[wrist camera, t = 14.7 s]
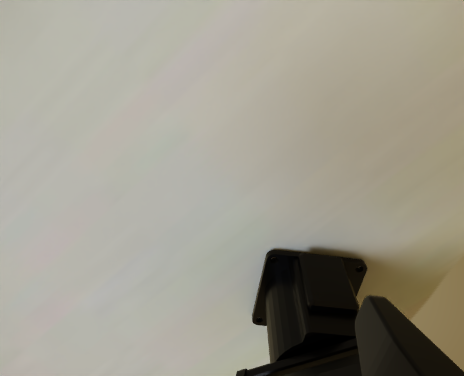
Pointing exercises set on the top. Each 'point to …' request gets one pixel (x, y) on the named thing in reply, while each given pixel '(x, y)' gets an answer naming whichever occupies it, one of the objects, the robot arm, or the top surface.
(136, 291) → the top surface
